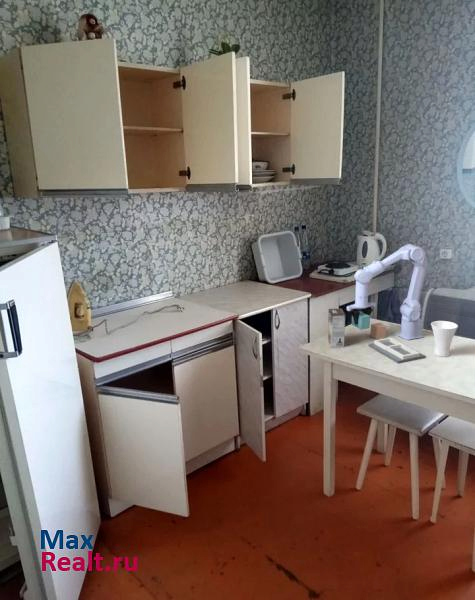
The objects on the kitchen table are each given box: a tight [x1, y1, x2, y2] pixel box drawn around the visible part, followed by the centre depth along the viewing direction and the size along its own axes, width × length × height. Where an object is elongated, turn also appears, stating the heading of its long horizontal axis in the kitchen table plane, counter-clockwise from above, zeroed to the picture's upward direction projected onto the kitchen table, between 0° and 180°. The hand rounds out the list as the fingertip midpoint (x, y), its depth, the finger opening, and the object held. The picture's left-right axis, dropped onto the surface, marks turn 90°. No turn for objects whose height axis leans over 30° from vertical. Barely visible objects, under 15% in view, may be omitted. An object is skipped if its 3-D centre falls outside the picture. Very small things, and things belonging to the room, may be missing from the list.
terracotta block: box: [369, 322, 387, 340], centre depth 223 cm, size 5×5×6 cm
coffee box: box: [327, 308, 346, 348], centre depth 215 cm, size 9×6×16 cm
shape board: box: [368, 337, 427, 364], centre depth 205 cm, size 14×21×2 cm, turn 19°
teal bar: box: [351, 310, 371, 330], centre depth 218 cm, size 4×8×6 cm, turn 19°
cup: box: [430, 320, 459, 358], centre depth 199 cm, size 10×10×14 cm
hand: (360, 323), depth 219 cm, fingers closed on teal bar, 4 cm apart
